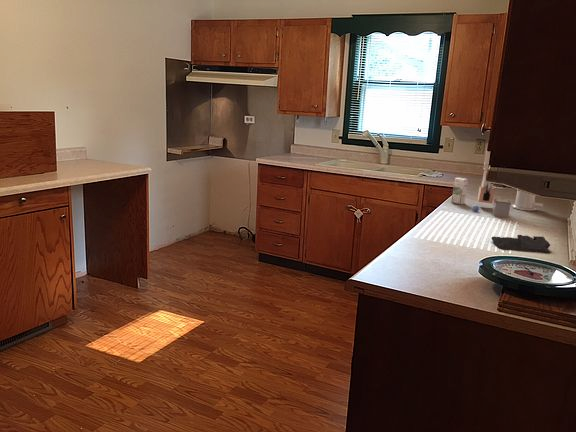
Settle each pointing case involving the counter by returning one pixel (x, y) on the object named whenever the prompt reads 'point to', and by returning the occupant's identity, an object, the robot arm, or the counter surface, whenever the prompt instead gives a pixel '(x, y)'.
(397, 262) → the counter surface
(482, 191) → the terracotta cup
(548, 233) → the counter surface
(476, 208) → the marble
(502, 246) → the dark slate chunk
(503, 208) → the gray block
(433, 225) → the counter surface
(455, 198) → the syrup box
